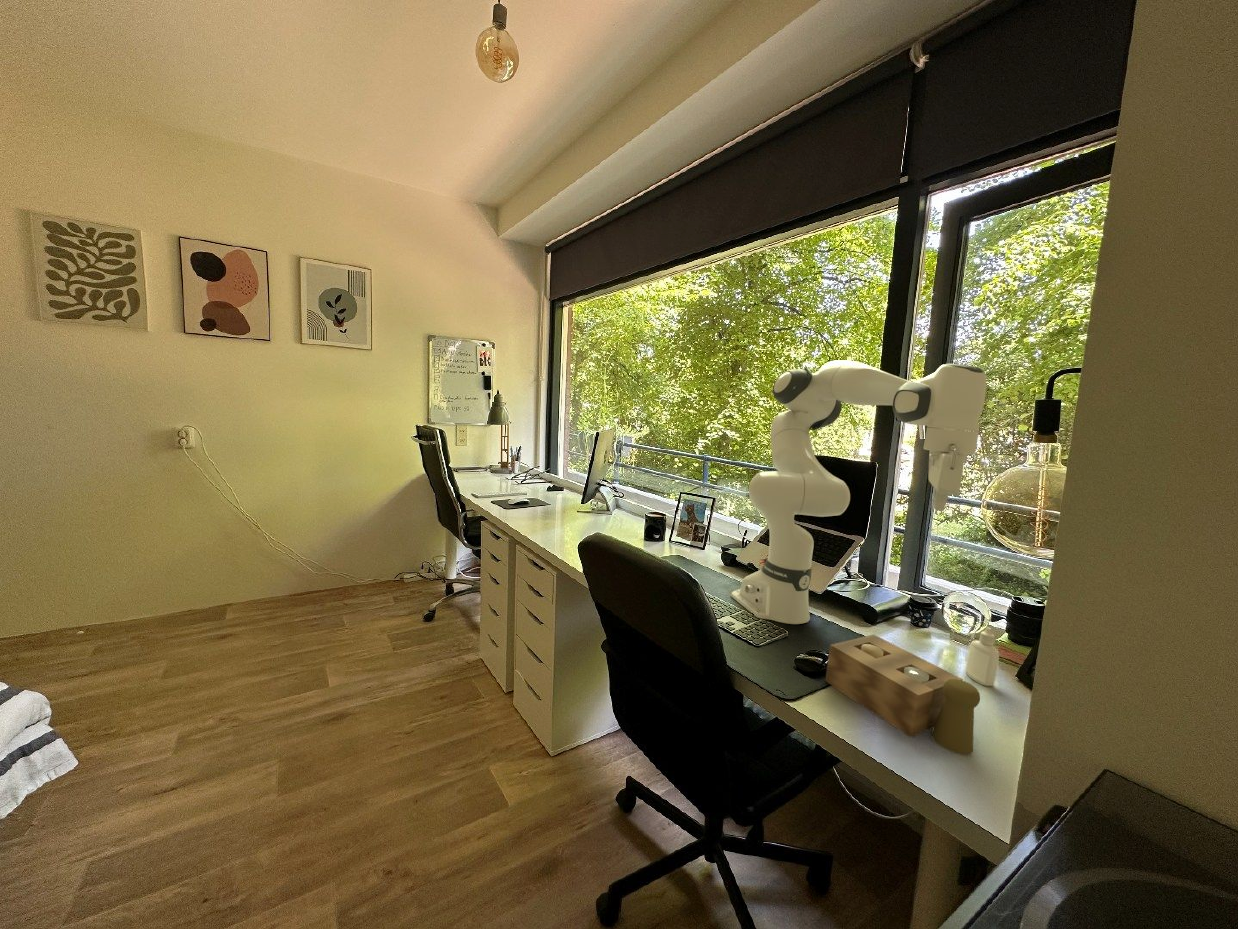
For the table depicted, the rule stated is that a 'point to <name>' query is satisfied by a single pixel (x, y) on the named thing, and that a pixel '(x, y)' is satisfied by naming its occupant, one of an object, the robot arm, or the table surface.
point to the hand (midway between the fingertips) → (938, 509)
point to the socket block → (888, 683)
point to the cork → (956, 717)
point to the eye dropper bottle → (983, 659)
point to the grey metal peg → (916, 674)
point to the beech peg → (872, 650)
